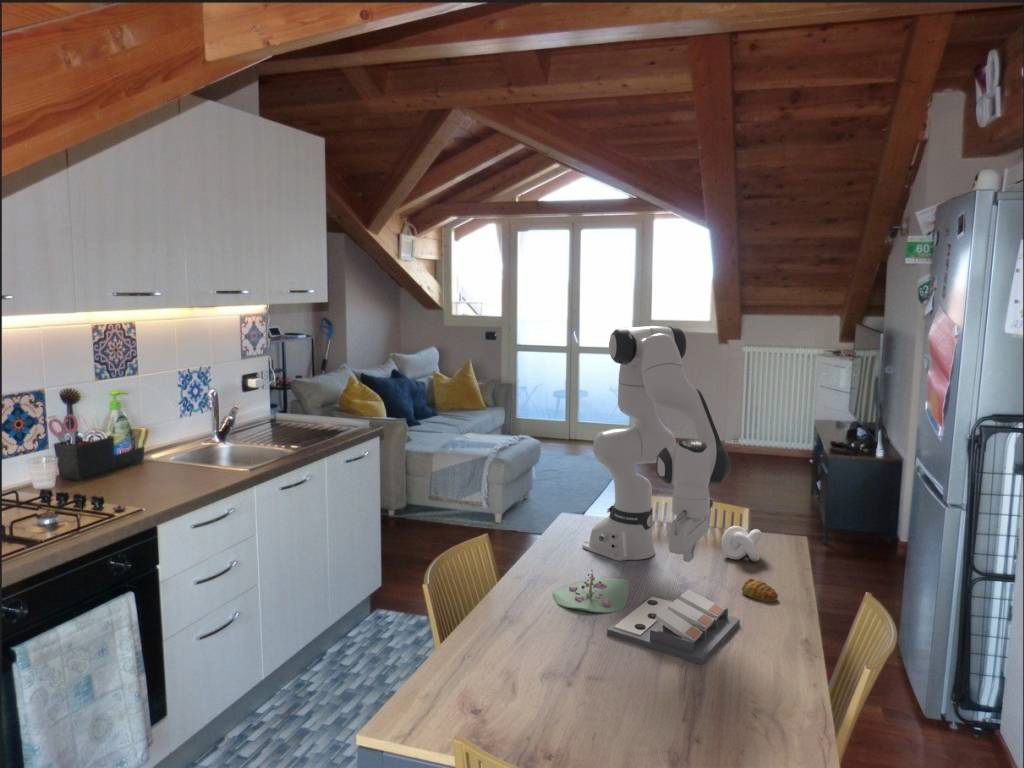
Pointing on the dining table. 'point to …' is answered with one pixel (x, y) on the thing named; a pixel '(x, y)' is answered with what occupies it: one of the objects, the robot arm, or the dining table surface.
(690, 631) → the switch near
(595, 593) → the plant
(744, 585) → the pastry
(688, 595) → the switch far
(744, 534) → the white knot sculpture
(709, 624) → the switch middle
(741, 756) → the dining table surface
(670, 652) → the switch unit
